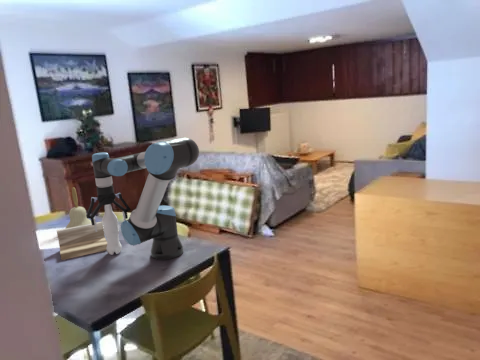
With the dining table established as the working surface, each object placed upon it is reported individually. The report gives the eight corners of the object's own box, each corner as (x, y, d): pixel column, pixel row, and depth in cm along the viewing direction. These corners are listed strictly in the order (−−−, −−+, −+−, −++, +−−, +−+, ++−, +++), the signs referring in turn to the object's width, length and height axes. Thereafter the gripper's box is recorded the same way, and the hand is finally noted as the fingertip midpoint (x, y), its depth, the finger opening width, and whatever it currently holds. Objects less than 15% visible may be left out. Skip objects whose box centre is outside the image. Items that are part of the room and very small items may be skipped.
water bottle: (106, 256, 196) (99, 206, 190) (107, 251, 203) (99, 202, 197) (122, 254, 198) (115, 204, 192) (122, 248, 205) (115, 200, 199)
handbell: (67, 226, 246) (60, 186, 240) (94, 222, 250) (87, 182, 244) (65, 234, 231) (57, 192, 226) (93, 230, 236) (86, 188, 230)
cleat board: (108, 249, 205) (105, 228, 202) (61, 260, 196) (57, 238, 193) (105, 241, 217) (102, 221, 215) (60, 250, 208) (56, 230, 206)
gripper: (129, 179, 201) (135, 220, 206) (75, 188, 191) (82, 231, 196) (132, 182, 194) (138, 225, 199) (77, 191, 184) (84, 235, 189)
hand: (110, 228), depth 197 cm, fingers open, 13 cm apart
